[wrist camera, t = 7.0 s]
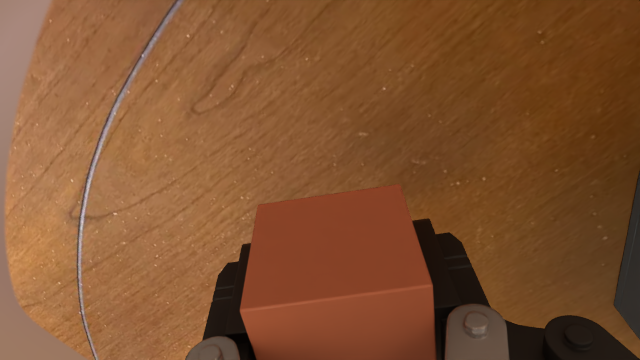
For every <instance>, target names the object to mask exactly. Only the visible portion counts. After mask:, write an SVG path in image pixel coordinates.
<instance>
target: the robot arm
mask: <svg viewBox="0 0 640 360" xmlns="http://www.w3.org/2000/svg"><path fill="white" fill-rule="evenodd" d="M412 222H413V226H414V229H415V232H416V235H417V238H418V241H419V244H420V247H421V250H422V253H423V256H424V259H425V263H426V266H427V269H428V272H429V275H430V278H431V281H432V284H433V297H434V316H435V335H436V354H437V360H640V359H639V358H638V357H636V356H635V355H634V354H633V353H632V352H631V351H629V350H628V349H627V348H626V347H625V346H624V345H622V344H621V343H620V342H619V341H618V340H617V339H615V338H614V337H613V336H612V335H611V334H610V333H608V332H607V331H606V330H605V329H604V328H602V327H601V326H600V325H598V324H597V323H595V322H593V321H591V320H589V319H586V318H583V317H579V316H572V315H567V316H560V317H556V318H554V319H552V320H551V321H550V322H549V323H548V324H547V325H546V327H545V329H543V328H535V327H528V326H522V325H517V324H514V323H511V322H509V321H507V320H505V319H503V317H502V316H501V315H500V314H499V313H498V312H497V311H495V310H494V309H492V308H491V306H490V305H489V303H488V300H487V298H486V296H485V294H484V291H483V289H482V287H481V285H480V283H479V280H478V278H477V276H476V274H475V271H474V269H473V267H472V265H471V263H470V260H469V258H468V257H467V254H466V251H465V249H464V247H463V245H462V242H460V241H459V240H458V239H457V238H456V237H454V236H453V235H452V234H451V233H450V232H449V233H442V234H435V232H434V229H433V227H432V224H431V221H430V219H429V218H428V219H421V220H413V221H412ZM250 248H251V243H248V244H243V245H242V248H241V253H240V258H239V261H238V262H231V263H227V265H226V266H225V267H224V269H223V270H222V271H221V273H220V274H219V275H218V279H217V283H216V287H215V291H214V295H213V302H212V303H211V307H210V311H209V315H208V320H207V324H206V328H205V332H204V336H203V340H202V341H201V342H200V343H198V344H197V345H196V346H194V347H193V348H192V349H191V351H190V352H189V353H188V355H187V356H186V359H185V360H256V357H255V354H254V351H253V348H252V345H251V342H250V340H249V337H248V334H247V331H246V328H245V325H244V322H243V319H242V316H241V313H240V306H241V300H242V294H243V288H244V283H245V277H246V271H247V265H248V259H249V254H250Z"/></svg>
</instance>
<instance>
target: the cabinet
mask: <svg viewBox="0 0 640 360" xmlns="http://www.w3.org/2000/svg"><path fill="white" fill-rule="evenodd" d="M614 306H615V308H616V309H617V310H618V312H619V313H620V314H621V316H622V317H623V318H624V320H625V321H626V322H627V324H628V325H629V326H630V328H631V329H632V330H633V332H634V333H635V334H636V335H637V337H638V338H639V339H640V173H639V178H638V183H637V188H636V193H635V198H634V203H633V208H632V214H631V219H630V224H629V229H628V234H627V239H626V244H625V249H624V255H623V260H622V265H621V270H620V275H619V280H618V285H617V290H616V296H615V301H614Z"/></svg>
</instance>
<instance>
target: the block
mask: <svg viewBox="0 0 640 360" xmlns="http://www.w3.org/2000/svg"><path fill="white" fill-rule="evenodd" d="M240 313H241V316H242V319H243V322H244V325H245V328H246V331H247V334H248V337H249V340H250V342H251V345H252V348H253V351H254V354H255V357H256V360H437V354H436V335H435V316H434V297H433V284H432V281H431V278H430V275H429V272H428V269H427V266H426V263H425V259H424V256H423V253H422V250H421V247H420V244H419V241H418V238H417V235H416V232H415V229H414V226H413V222H412V219H411V216H410V213H409V210H408V207H407V204H406V201H405V198H404V195H403V192H402V189H401V186H400V185H399V184H397V185H390V186H383V187H376V188H369V189H363V190H356V191H349V192H342V193H335V194H329V195H322V196H315V197H308V198H301V199H295V200H288V201H281V202H274V203H267V204H260V205H258V207H257V213H256V219H255V225H254V230H253V236H252V242H251V248H250V254H249V259H248V265H247V271H246V277H245V283H244V288H243V294H242V300H241V306H240Z"/></svg>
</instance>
